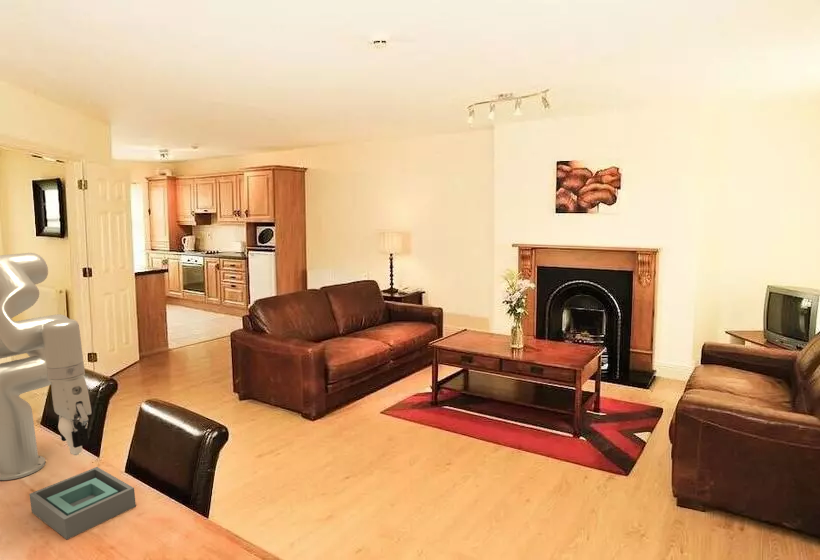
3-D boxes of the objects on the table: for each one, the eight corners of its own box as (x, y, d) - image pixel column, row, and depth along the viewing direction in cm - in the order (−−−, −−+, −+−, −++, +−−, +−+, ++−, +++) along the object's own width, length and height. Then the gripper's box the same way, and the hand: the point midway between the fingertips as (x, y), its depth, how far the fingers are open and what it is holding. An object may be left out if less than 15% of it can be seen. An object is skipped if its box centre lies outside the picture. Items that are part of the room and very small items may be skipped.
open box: (135, 506, 136) (134, 487, 136) (66, 539, 124) (64, 519, 123) (98, 484, 147) (96, 466, 146) (31, 512, 134) (29, 493, 134)
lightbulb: (96, 450, 136) (92, 408, 134) (77, 461, 130) (72, 418, 128) (76, 447, 137) (71, 406, 135) (55, 459, 131) (50, 416, 129)
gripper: (99, 372, 128) (107, 445, 131) (67, 361, 138) (75, 428, 141) (64, 382, 122) (74, 457, 125) (33, 369, 132) (43, 439, 135)
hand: (75, 441), depth 133 cm, fingers closed on lightbulb, 5 cm apart
